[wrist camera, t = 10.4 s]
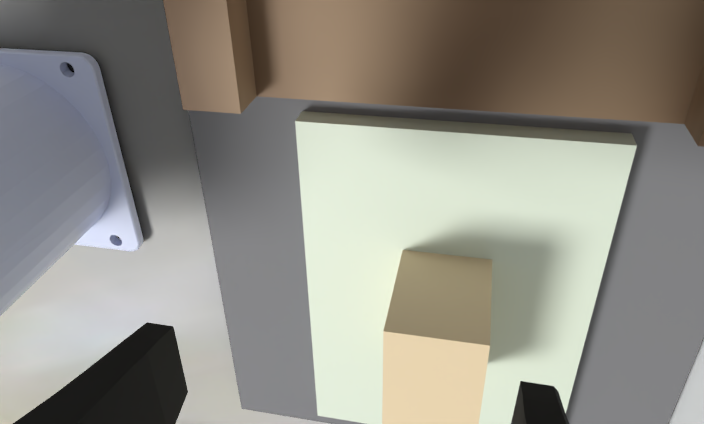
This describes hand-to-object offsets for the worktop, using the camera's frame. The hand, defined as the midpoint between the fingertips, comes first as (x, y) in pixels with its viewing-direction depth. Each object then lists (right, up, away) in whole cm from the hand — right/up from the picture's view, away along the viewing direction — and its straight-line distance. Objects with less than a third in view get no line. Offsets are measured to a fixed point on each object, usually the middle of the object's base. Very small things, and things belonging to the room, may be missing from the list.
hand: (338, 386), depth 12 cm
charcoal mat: (+4, 0, +10) cm, 11 cm away
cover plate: (+4, 0, +10) cm, 11 cm away
